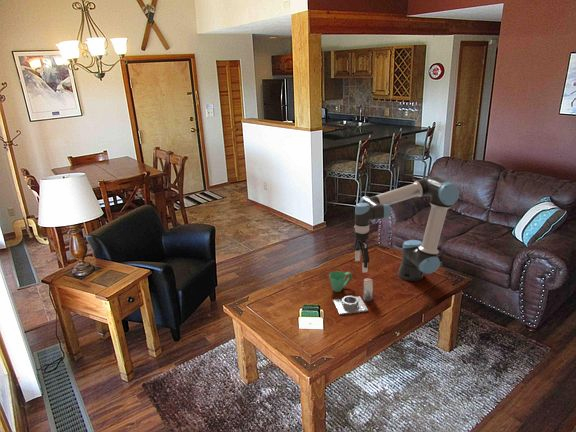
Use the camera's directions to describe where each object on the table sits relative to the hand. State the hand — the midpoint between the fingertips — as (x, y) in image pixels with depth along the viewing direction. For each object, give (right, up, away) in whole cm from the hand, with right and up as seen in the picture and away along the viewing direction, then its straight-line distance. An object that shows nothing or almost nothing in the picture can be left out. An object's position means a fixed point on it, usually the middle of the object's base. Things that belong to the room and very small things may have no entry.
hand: (361, 266), depth 224 cm
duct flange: (-6, -22, 0) cm, 23 cm away
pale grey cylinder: (+5, -19, +6) cm, 21 cm away
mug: (-9, -16, +17) cm, 25 cm away
